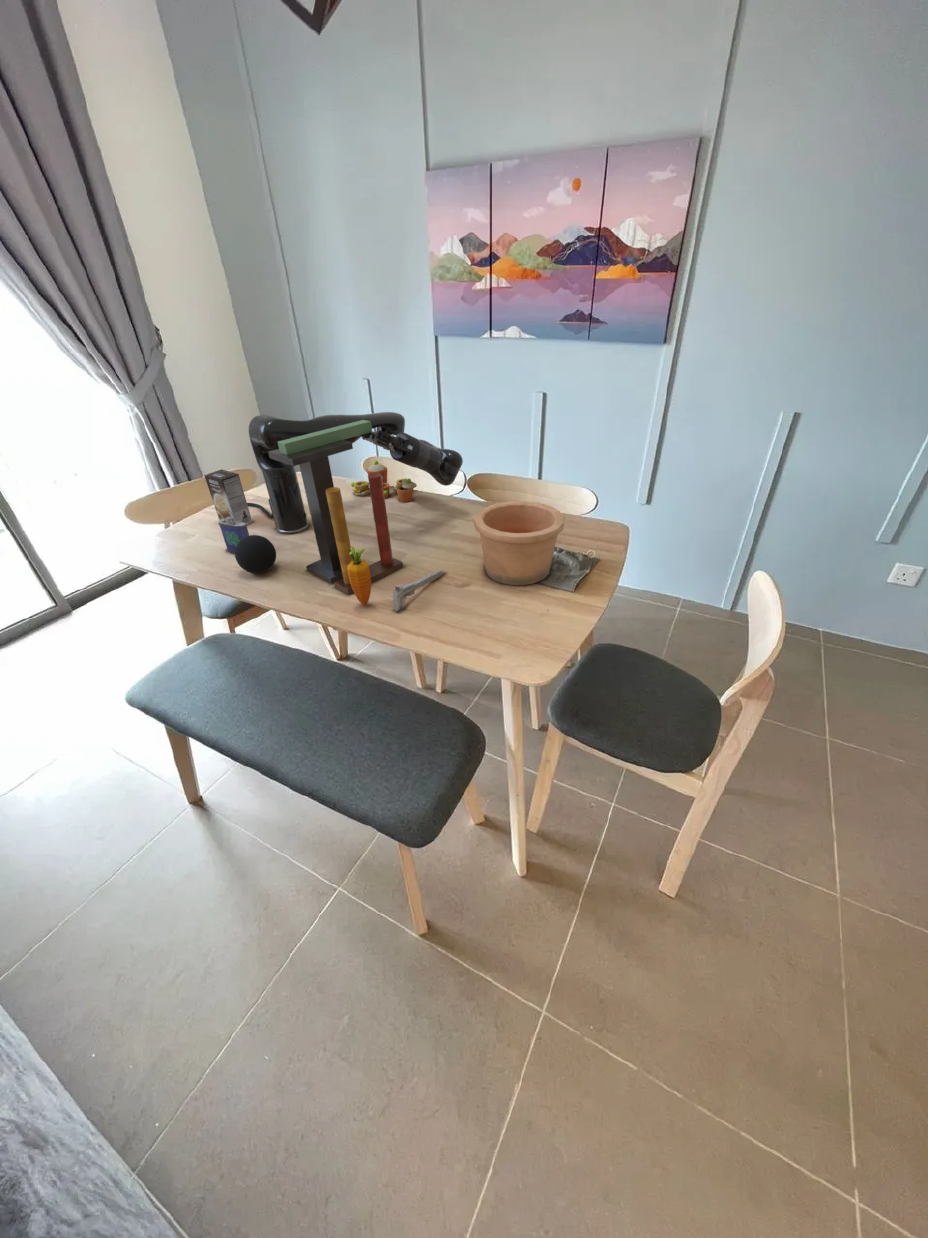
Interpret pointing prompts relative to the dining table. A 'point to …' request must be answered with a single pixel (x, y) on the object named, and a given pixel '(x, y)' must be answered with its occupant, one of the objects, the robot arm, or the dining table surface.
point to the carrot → (359, 576)
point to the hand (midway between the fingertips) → (366, 431)
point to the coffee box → (228, 496)
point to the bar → (324, 437)
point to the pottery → (518, 540)
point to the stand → (319, 502)
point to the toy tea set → (386, 484)
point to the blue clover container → (233, 532)
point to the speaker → (255, 554)
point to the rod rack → (382, 531)
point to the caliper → (411, 589)
